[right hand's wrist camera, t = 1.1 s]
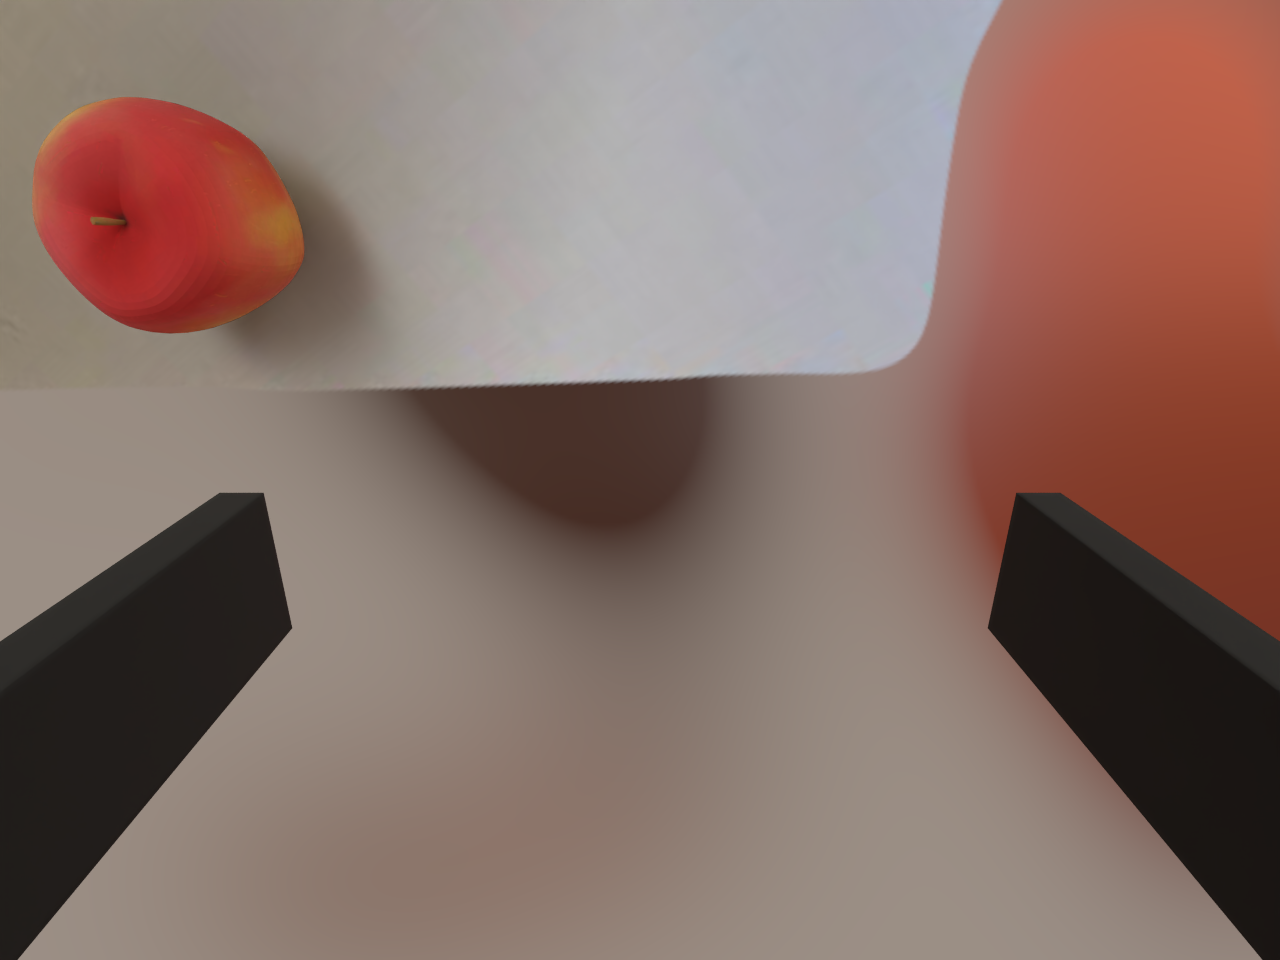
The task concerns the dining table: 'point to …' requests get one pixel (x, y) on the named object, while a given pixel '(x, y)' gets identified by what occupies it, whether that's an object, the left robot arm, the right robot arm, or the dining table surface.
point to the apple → (164, 215)
